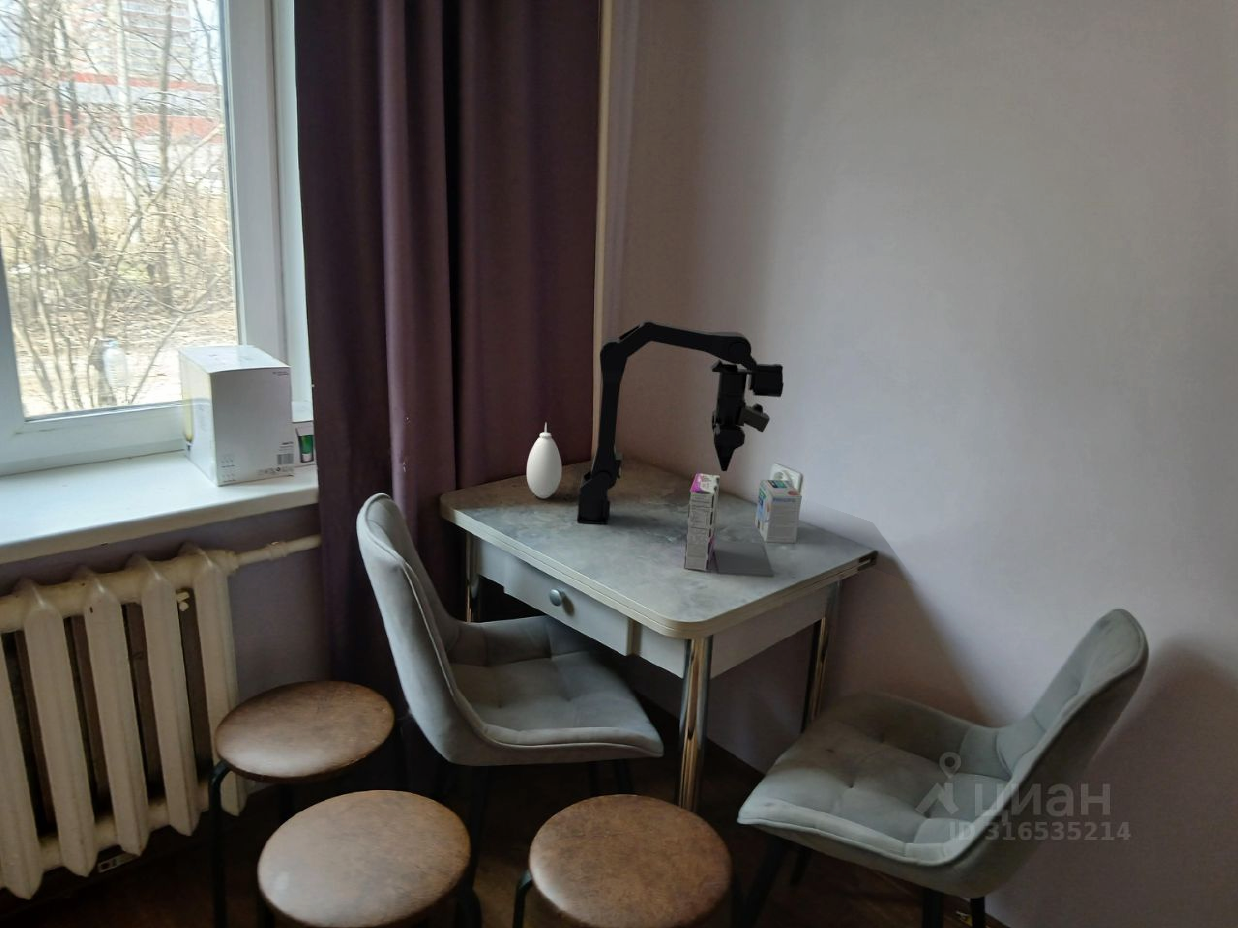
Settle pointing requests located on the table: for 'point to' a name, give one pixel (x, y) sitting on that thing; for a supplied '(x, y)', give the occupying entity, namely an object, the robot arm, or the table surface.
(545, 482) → the white air blower bulb
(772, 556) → the table surface
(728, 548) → the mat
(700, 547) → the candy bar box
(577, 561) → the table surface
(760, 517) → the light bulb box
